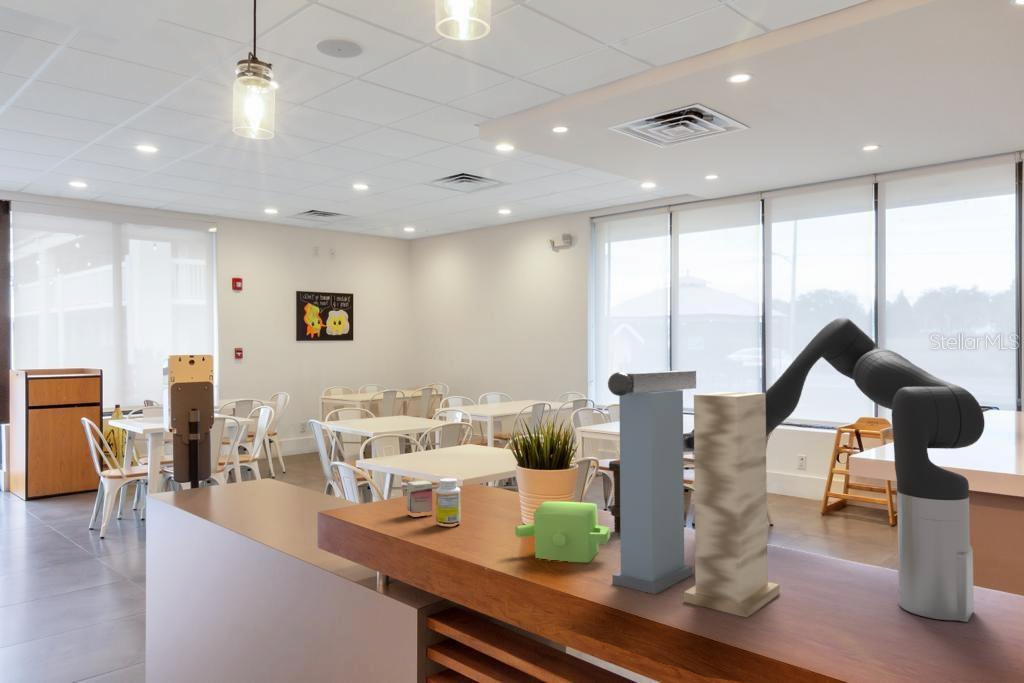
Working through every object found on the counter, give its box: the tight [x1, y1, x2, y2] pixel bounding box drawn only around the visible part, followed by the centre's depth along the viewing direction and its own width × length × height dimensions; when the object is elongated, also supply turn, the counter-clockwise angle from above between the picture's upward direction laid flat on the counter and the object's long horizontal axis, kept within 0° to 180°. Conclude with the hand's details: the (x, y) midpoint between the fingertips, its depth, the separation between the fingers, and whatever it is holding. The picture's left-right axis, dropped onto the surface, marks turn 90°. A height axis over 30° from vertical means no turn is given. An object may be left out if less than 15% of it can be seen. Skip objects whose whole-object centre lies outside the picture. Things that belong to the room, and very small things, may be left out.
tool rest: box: [683, 391, 780, 618], centre depth 109 cm, size 10×13×32 cm
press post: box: [611, 389, 693, 595], centre depth 118 cm, size 8×13×32 cm, turn 139°
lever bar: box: [607, 370, 697, 397], centre depth 119 cm, size 4×26×4 cm, turn 139°
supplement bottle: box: [435, 477, 462, 524], centre depth 156 cm, size 6×6×10 cm
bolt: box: [608, 459, 620, 533], centre depth 150 cm, size 6×5×15 cm
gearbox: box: [514, 500, 611, 564], centre depth 132 cm, size 18×10×10 cm, turn 72°
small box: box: [406, 480, 433, 513], centre depth 165 cm, size 5×4×8 cm
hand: (690, 441), depth 127 cm, fingers open, 8 cm apart
